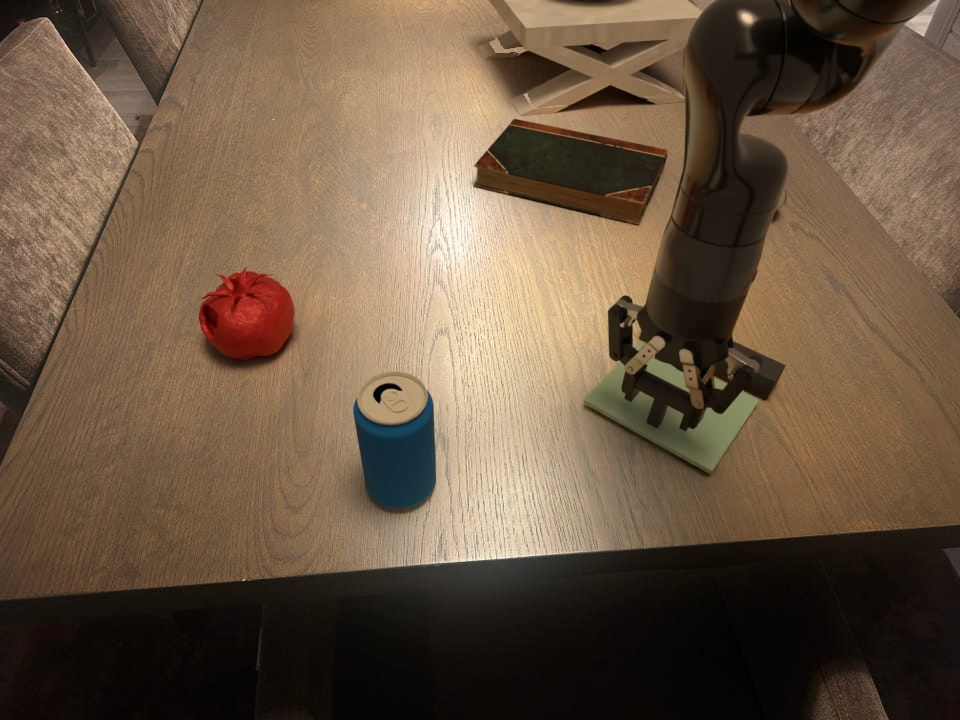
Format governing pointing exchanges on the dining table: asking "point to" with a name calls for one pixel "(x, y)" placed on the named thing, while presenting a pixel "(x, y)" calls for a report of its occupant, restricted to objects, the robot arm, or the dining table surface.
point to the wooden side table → (593, 20)
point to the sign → (671, 413)
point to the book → (572, 170)
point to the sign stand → (762, 379)
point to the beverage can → (396, 439)
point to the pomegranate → (247, 315)
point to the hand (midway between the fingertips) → (659, 409)
